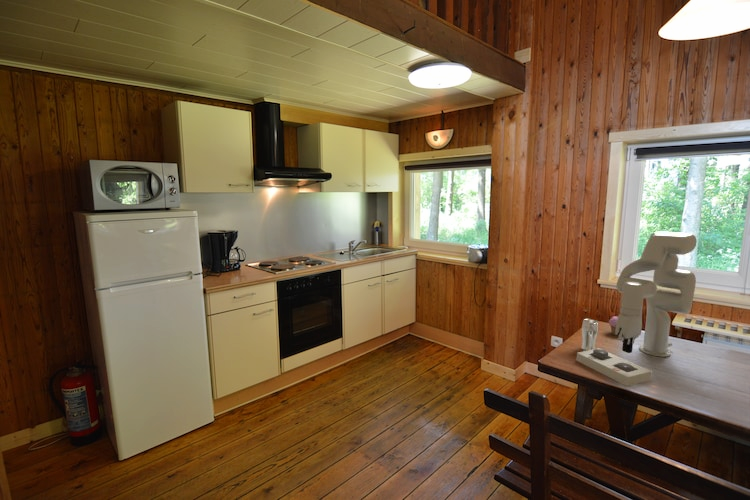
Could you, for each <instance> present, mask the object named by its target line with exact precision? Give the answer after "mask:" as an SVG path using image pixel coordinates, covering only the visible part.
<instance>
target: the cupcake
mask: <svg viewBox="0 0 750 500" xmlns="http://www.w3.org/2000/svg"><path fill="white" fill-rule="evenodd" d="M617 320H618V316H615V315H614V316H612V317H611V318H610V319H609V321H608V324H609V326H610V328H611V329H610V332H611V334H612V335H614V336H617V335H616V334H615V331H616V324H617Z"/></svg>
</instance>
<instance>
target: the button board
mask: <svg viewBox="0 0 750 500" xmlns="http://www.w3.org/2000/svg"><path fill="white" fill-rule="evenodd" d="M596 349H601V350H603V349H602V348H600V347H597V348H596ZM593 350H594V349H593ZM593 350H588V351H585V350H583V351H580V352H579V351H578V352H577V353H576V361H577V362H579V364H582V365H584V366H586V367H588V368H590V369H592V370H594V371H596V372H599V373H601V374H602V375H604V376H606V377H608V378H610V379H612V380H614V381H616V382H618V383H620V384H622V385H624V386H626V387H629V386H633V385H637V384H639V383H640V384H641V383H644V382H648V381H651V380H652V379H651V378H652V371H651V370H650V369H647V368H645V367H643V366H641V365H639V364H636V363H633V362H631V361H629V360H627V359H625V358H622V357H620V356H619V355H615V354H614V353H611V352H609V351H607V352H608V359H605V360H600V359H598V358H595V357H593ZM618 363H626V364H629V365H631V366H633V367H634V369H633V371H631V372H625V371H623V370H621V369H619V368H617V364H618Z"/></svg>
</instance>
